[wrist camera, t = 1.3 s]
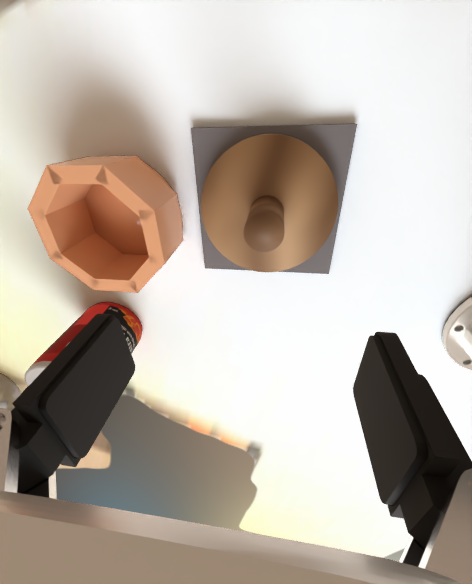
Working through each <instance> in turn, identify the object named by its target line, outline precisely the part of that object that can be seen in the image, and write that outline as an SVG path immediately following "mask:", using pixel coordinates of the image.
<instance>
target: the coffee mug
mask: <svg viewBox="0 0 472 584" xmlns="http://www.w3.org/2000/svg"><path fill="white" fill-rule="evenodd" d="M20 395H21V392H20V390H19V388H18V387H17V386H16V384H15V383H14V382H12V381H11V380H10V379H9V378H7V377H6V376H4V375H3V374H1V373H0V408H5V409H8V410H9V411H10V412H11V411H12V410H13V409H14V405H13V404H12V403H13V402H14V401H15V400H16V399H17V398H18V397H19V396H20Z"/></svg>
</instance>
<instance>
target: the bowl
mask: <svg viewBox="0 0 472 584" xmlns="http://www.w3.org/2000/svg"><path fill="white" fill-rule="evenodd" d="M28 210H29V212H30V215H31V217H32V219H33V221H34V224H35V226H36V228H37V230H38V232H39V235H40V237H41V239H42V241H43V244H44V246H45V248H46V250H47V252H48V255H49V257H50V259H51V260H53V261H54V262H56V263H57V264H58V265H60V266H61V267H63V268H64V269H65V270H67V271H68V272H69V273H71V274H72V275H74V276H75V277H76V278H78V279H79V280H81V281H82V282H83V283H85V284H86V285H87V286H89V287H90V288H92V289H93V290H102V291H119V292H136V293H138V292H139V291H140V290H141V289H142V288H143V287H144V285H145V284H146V283H147V282H148V281H149V280H150V279H151V278H152V277H153V276H154V275H155V273H156V272H157V271H158V270H159V269H160V268H161V267H162V266H163V265H164V264H165V263H166V261H167V260H168V259H169V258H170V256H171V255H172V254H173V253H174V251H175V250H176V249H177V247H178V246H179V245H180V244H181V242H182V241H183V233H182V227H183V220H182V212H181V208H180V205H179V202H178V198H177V193H175V192H174V191H173V190H172V188H171V187H170V185H169V184H168V183H167V181H166V180H165V179H164V178H163V177H162V176H161V175H160V174H159V173H158V172H157V171H155V170H154V169H153V168H152V167H150V166H149V165H147V164H145V163H144V162H143V161H142V160H141V159H139V158H138V157H137V156H117V155H116V156H93V157H90V156H89V157H84V158H80V159H75V160H70V161H65V162H61V163H56V164H51V165H47V166H46V168H45V171H44V173H43V175H42V177H41V180H40V182H39V184H38V187H37V189H36V191H35V193H34V196H33V198H32V200H31V202H30V205H29V207H28Z"/></svg>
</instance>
